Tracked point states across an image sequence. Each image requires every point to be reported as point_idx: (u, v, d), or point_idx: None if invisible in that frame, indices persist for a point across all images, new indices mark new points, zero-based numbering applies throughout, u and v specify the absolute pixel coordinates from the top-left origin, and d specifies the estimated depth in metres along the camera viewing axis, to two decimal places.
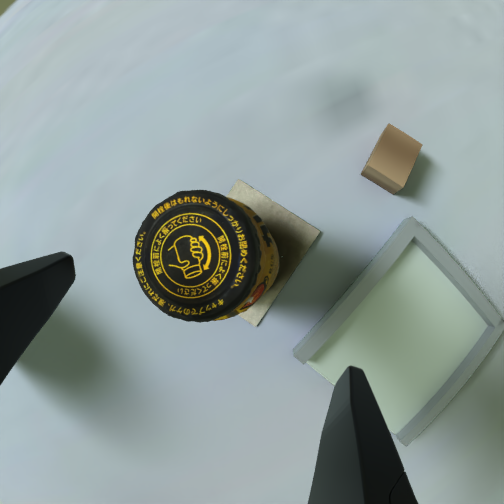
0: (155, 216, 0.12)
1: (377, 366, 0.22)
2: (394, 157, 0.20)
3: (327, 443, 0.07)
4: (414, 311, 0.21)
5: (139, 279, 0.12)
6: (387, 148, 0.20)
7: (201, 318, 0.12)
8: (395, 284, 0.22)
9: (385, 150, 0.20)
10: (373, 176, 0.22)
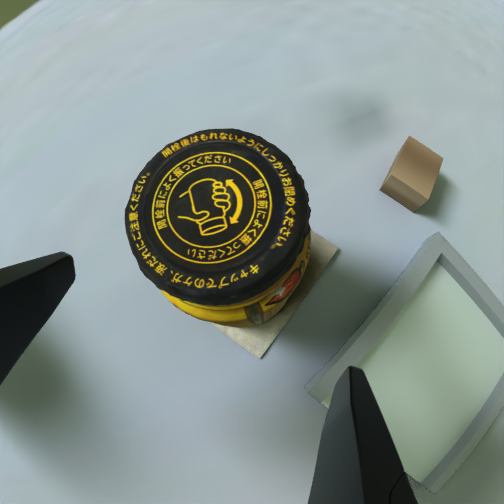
0: (166, 154, 0.09)
1: (403, 405, 0.17)
2: (417, 168, 0.19)
3: (327, 443, 0.07)
4: (441, 339, 0.18)
5: (131, 236, 0.08)
6: (409, 159, 0.19)
7: (221, 295, 0.08)
8: (421, 309, 0.18)
9: (407, 161, 0.19)
10: (395, 190, 0.20)
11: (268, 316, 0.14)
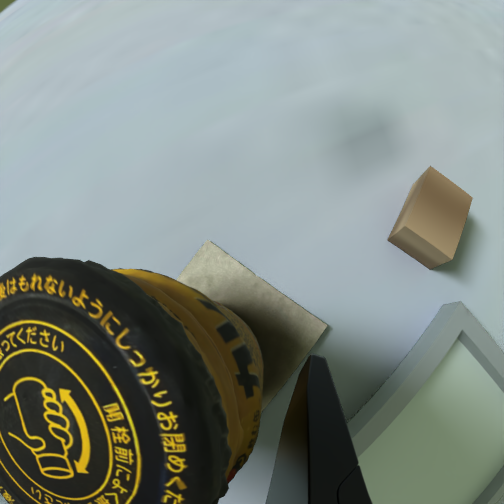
0: None
1: (394, 500, 0.12)
2: (439, 215, 0.14)
3: (286, 432, 0.07)
4: (449, 428, 0.12)
5: None
6: (430, 202, 0.14)
7: None
8: (429, 397, 0.13)
9: (427, 205, 0.14)
10: (408, 243, 0.15)
11: None
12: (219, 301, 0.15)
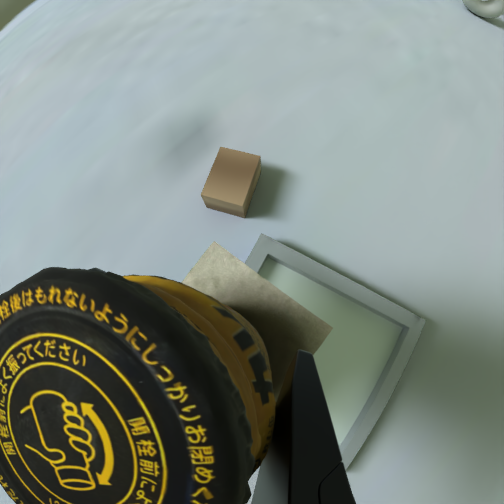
0: None
1: None
2: (228, 178, 0.21)
3: None
4: None
5: None
6: (220, 172, 0.22)
7: None
8: None
9: (218, 175, 0.22)
10: (215, 205, 0.23)
11: None
12: (225, 303, 0.15)
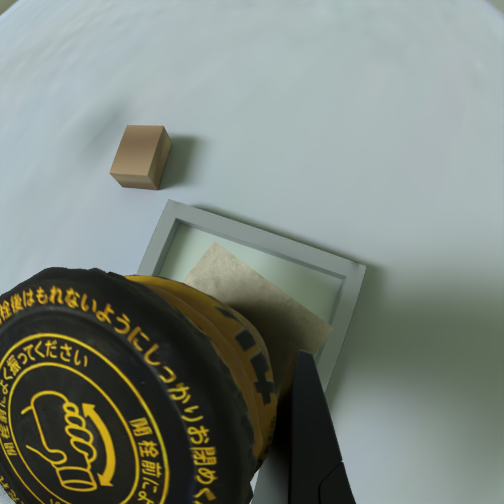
0: None
1: None
2: (134, 152, 0.20)
3: None
4: None
5: None
6: (126, 149, 0.20)
7: None
8: (181, 279, 0.20)
9: (124, 151, 0.20)
10: (127, 181, 0.21)
11: None
12: (226, 303, 0.15)
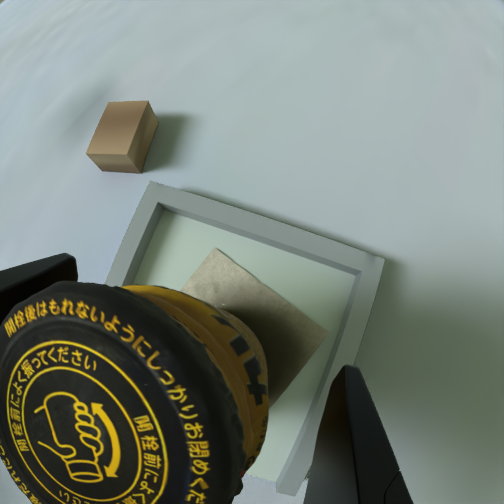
0: (10, 331, 0.04)
1: None
2: (114, 130, 0.17)
3: (323, 442, 0.07)
4: None
5: None
6: (106, 126, 0.17)
7: None
8: (163, 275, 0.16)
9: (103, 129, 0.17)
10: (105, 164, 0.18)
11: None
12: (225, 307, 0.16)
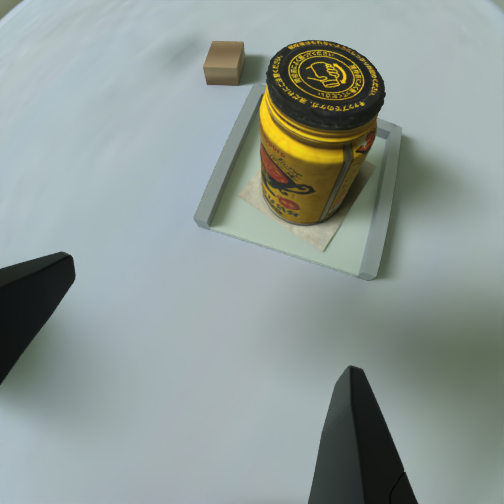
0: (291, 48, 0.12)
1: None
2: (222, 55, 0.25)
3: (327, 443, 0.07)
4: None
5: (276, 85, 0.11)
6: (215, 53, 0.25)
7: (344, 116, 0.11)
8: None
9: (214, 55, 0.25)
10: (214, 77, 0.26)
11: (340, 193, 0.18)
12: None
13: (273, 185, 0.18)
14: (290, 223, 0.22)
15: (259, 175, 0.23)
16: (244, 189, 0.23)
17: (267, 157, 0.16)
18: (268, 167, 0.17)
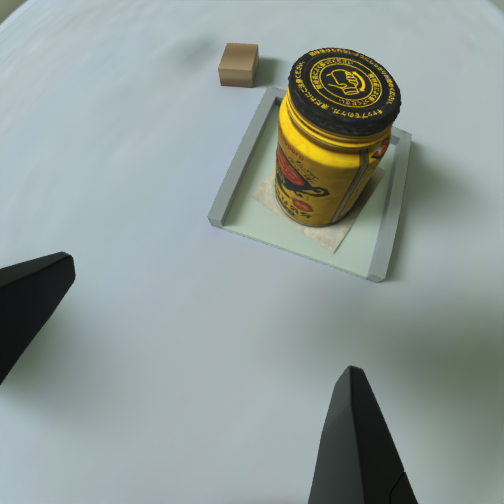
0: (312, 55, 0.12)
1: None
2: (237, 57, 0.25)
3: (327, 443, 0.07)
4: None
5: (299, 90, 0.12)
6: (230, 55, 0.25)
7: (363, 123, 0.11)
8: None
9: (229, 57, 0.25)
10: (228, 78, 0.26)
11: (352, 196, 0.18)
12: None
13: (288, 186, 0.19)
14: (302, 224, 0.23)
15: (272, 177, 0.24)
16: (257, 190, 0.23)
17: (284, 159, 0.17)
18: (284, 169, 0.17)
